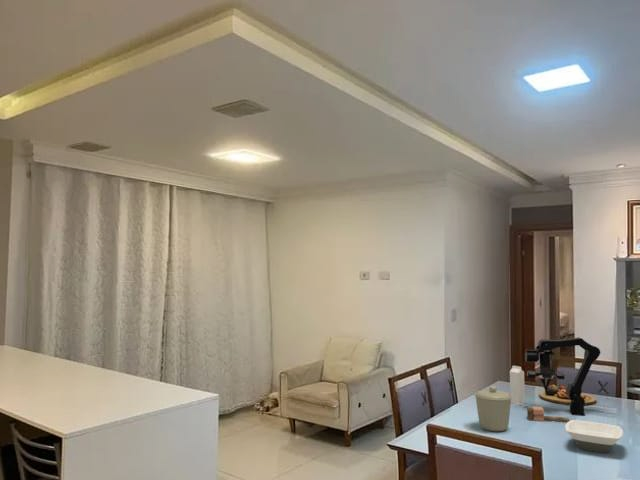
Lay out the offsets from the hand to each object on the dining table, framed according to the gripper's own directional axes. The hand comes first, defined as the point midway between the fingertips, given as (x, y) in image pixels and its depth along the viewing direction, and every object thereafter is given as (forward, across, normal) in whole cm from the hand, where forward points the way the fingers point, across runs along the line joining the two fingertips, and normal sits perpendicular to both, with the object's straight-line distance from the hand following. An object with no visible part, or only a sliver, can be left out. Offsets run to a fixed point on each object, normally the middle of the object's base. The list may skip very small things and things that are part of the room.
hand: (545, 390), depth 284 cm
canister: (+12, -29, -40) cm, 51 cm away
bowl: (+12, +13, -56) cm, 59 cm away
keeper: (+12, -6, -16) cm, 21 cm away
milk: (+12, -14, +16) cm, 25 cm away
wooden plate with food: (+13, +16, +36) cm, 42 cm away
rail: (+12, -1, -16) cm, 20 cm away
